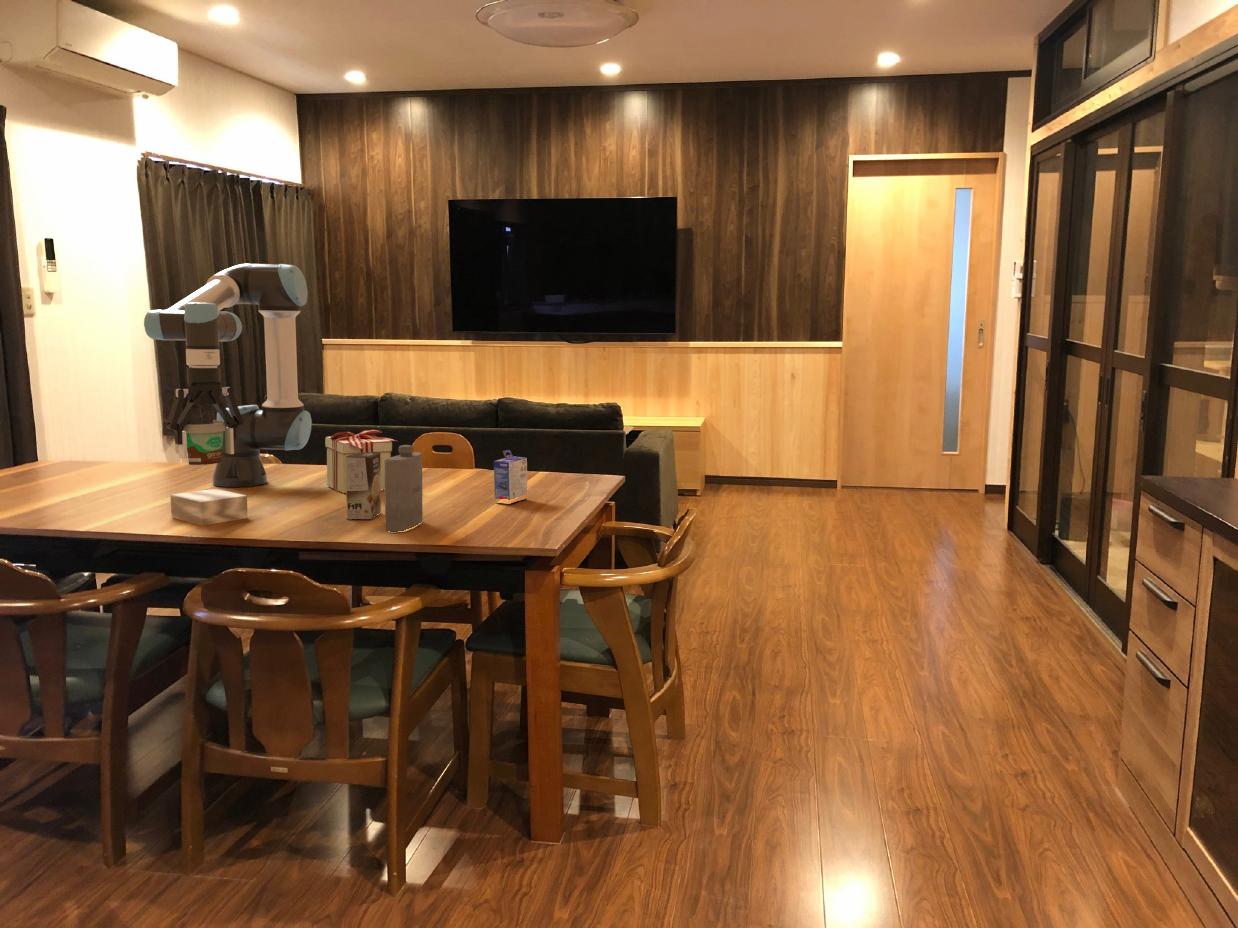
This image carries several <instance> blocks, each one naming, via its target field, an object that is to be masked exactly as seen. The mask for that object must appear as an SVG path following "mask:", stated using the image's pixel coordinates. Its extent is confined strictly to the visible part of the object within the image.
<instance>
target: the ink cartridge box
mask: <svg viewBox="0 0 1238 928" xmlns="http://www.w3.org/2000/svg"><path fill="white" fill-rule="evenodd" d="M502 453H503V455H504V458H500V459H497V460H494V461H493V477H494V479H493V480H494V482H493V483H494V484H493V485H494V500H495V499H508V500H511V499H515V498H516V497H520V496H523V495H525V494H527V495H528V461H527V459H528V458H527V457H525V456H524V457H522V456H514V455H513V454H512V451H511V450H510V449H506V450H502ZM507 453H509V454H507Z"/></svg>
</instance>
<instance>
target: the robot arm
mask: <svg viewBox="0 0 1238 928" xmlns="http://www.w3.org/2000/svg"><path fill="white" fill-rule="evenodd" d="M308 292H309V291H308V287H307V282H306V278H305V276H304V274H303V271H302V270H301V269H300V268H299V267H298V266H296V265H295V264H294V265H293V264H287V263H286V264H284V263H274V264H273V263H268V264H267V263H240V264H237V265H234V266H231V267H229V268H225V269H223V270H221V271H219V272H216V273H215V274H213V275H212V276H210V277H209V278H208V279H207V281H206V283H205V285H204V286H201V287H200V288H198V289H197V290H195V291H194V292H192V293H191V294H189V295H187V296H186V297H184V298H182V299H181V300H179V301H177V302H176V303H175V304H174V305H172V306H170V307H169V308H167V309H152V310H149V311H147V312H146V314H145V315H144V319H143V328H144V331H145V334H146V335H147V336H148V337H149V338H150V339H152V340H161V341H165V342H166V341H185V361H186V365H187V366H188V367H187V368H186V381H187V382H186V383H187V386H186V388H174V392H173V393H174V394H173V395H174V397H173V401H172V402H173V403H172V405H171V408H170V410H169V414H168V418H167V421H166V423H165V428H166V429H168V430H172V431H173V433H174V443H175V445H177V446H178V458H180V459H188V453H187V437H186V431H184V427H185V426H186V425H188V422H189V421H190V419H191V417H192V416H193V413H194V412H195V411H196V409H197V408H198V407H199V406H206V405H208V406H213V407H214V408H215V410H216V411H217V413H216V420H221V421H224V424H225V426H226V430H225V431H224V432H223V455H222V462H221V463H216V464H215V467H214V471H213V474H212V485H213V486H217V487H225V488H226V487H227V488H238V487H239V488H242V487H243V488H244V487H254V486H259V485H260V486H261V485H264V484H266V483H267V482H268V480H267V479H268V477H267V476H268V475H267V473H266V470H265V467H264V464H263V462H262V459H261V453H260V450H283V451H287V452H288V451H292V450H293V451H294V450H296V451H297V450H298V451H299V450H302V449H303V448H304V447H305V446H306V445H307V443H308V441H309V439H310V436H311V432H312V425H313V424H312V417H311V416H312V415H311V414H310V412H309V411H308V410H305V408H304V406H305V405H304V403H303V402H302V401H301V400H300V399H299V393H298V392H299V390H298V364H297V363H298V362H297V361H298V360H297V359H298V358H297V334H296V333H297V330H296V328H297V327H296V326H297V325H296V318H297V316H298V315H299V314H300V313H301V307H303V306H304V305H305V306H306V304H307V301H308V294H309V293H308ZM235 305H257V308H258V309H257V310H258V313H260V314H261V315H262V316H263V322H264V323H263V324H264V352H265V365H266V366H265V370H266V371H265V372H266V373H265V374H266V375H265V376H266V397H267V398H266V401H264V402H263V403H262V404H261V409H260V408H259V405H257V404H249V405H239V406H238V404H237V402H236V401H237V400H236V399H235V396H234V394H235V393H234V388H233V386H232V387H231V386H224V387H222V386H221V381H222V380H221V377H222V376H221V368H220V367H218V366H219V365H221V358H220V342H225V343H228V342H231V341H235V340H236V339H237V338H239V337H240V335H241V333H242V330H243V324H242V322H241V319H240V318H239V317H238V316H237V315H236V314H235V313H233V312H230V311H226V310H224V311H223V309H224V308H226V309H227V308H231V307H233V306H235ZM221 310H222V311H221ZM221 395H222V396H224V400H225V402H226V406H227V407H225V406H224V403H223V401H222V400H221V398H220V396H221ZM187 396H188V397H189V399H188V400H187V402H186V406H185V407H184V409H183V410H182V408H183V404H184V402H185V398H186V397H187ZM181 411H182V412H181Z"/></svg>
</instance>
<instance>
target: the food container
mask: <svg viewBox="0 0 1238 928" xmlns="http://www.w3.org/2000/svg"><path fill="white" fill-rule="evenodd" d="M225 430H226V426H225V424H224V421H221V420H217V419H213V420H212V423H208V424H205V423H199V424H186V426H185V427H184V429H183V431H186V437H187V459H188V460H187V462H188V465H189V466H191V465H192V466H202V465H203V466H205V465H206V466H207V465H216V464H217V463H221V462H222V455H223V432H224V431H225Z"/></svg>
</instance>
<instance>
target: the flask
mask: <svg viewBox="0 0 1238 928" xmlns="http://www.w3.org/2000/svg"><path fill="white" fill-rule="evenodd" d="M414 448H415V447H414V446H413V445H412V444H411V445H409V444H403V445H399V446H398V453H399V454H398V455H394V456H391V457H389V458H386V459H385V460H384V463H385V491H384V516H385V517H384V523H385V524H384V526H385V528H384V530H385V531H386V532H387V531H390V532H398V531H404V530H406V529H409V528H412V527H414V526H416V525H418V524H419V523H421V522H422V520H423V519H424V518H423V454H422V453H421V452H419V451H415V450H414ZM422 523H423V522H422Z"/></svg>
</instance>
